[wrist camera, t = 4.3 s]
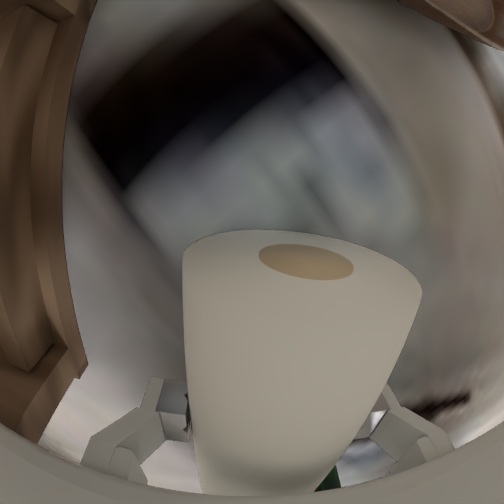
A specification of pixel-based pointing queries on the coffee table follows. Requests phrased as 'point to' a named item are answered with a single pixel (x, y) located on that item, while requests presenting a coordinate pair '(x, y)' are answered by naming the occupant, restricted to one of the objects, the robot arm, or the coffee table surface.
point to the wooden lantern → (36, 210)
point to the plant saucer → (467, 17)
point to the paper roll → (286, 353)
